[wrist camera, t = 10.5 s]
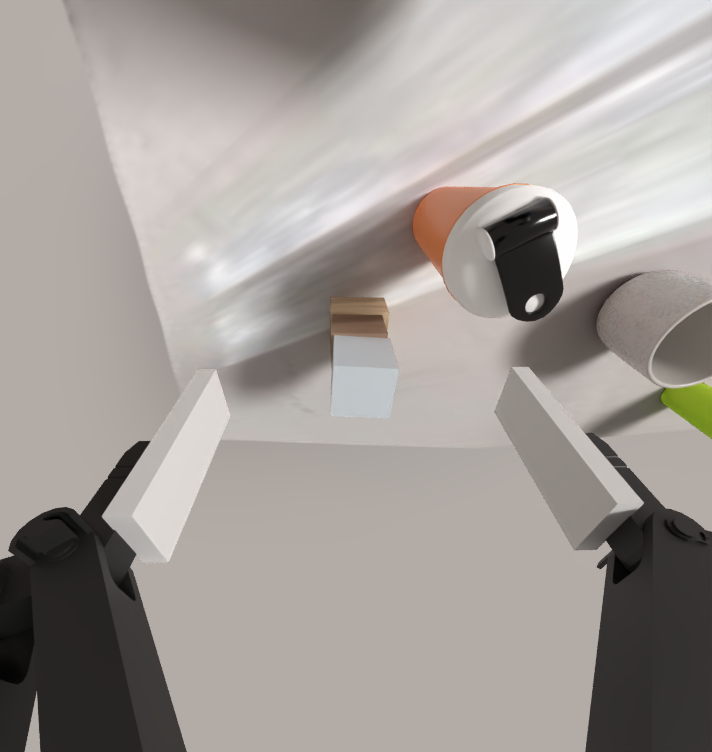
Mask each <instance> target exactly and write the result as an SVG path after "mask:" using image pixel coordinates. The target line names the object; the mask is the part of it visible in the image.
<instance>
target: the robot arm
mask: <svg viewBox="0 0 712 752" xmlns="http://www.w3.org/2000/svg"><path fill="white" fill-rule="evenodd" d="M495 414H496V416H497V417H498V419H499V421H500V422H501V424H502V426H503V428H504V429H505V431H506V433H507V435H508V436H509V438H510V440H511V442H512V443H513V445H514V447H515V449H516V450H517V452H518V454H519V455H520V457H521V459H522V461H523V462H524V464H525V466H526V468H527V469H528V471H529V473H530V474H531V476H532V478H533V480H534V482H535V483H536V485H537V487H538V488H539V490H540V492H541V494H542V495H543V497H544V499H545V501H546V502H547V504H548V505H549V507H550V509H551V511H552V513H553V515H554V516H555V518H556V519H557V521H558V523H559V525H560V527H561V528H562V530H563V532H564V534H565V535H566V537H567V539H568V541H569V542H570V544H571V546H572V547H573V549H574V550H596V549H598V548H599V547H600V546H601V545H602V543H604V542H605V541H607V542H608V544H609V545H610V547H611V548H612V551H611V552H609V554H608V555H606V556H605V557H604V558H603V559H602V560H601V561H600V562H599V563H598V565H597V568H599V569H601V568H603V567H604V566H605V565H606V564H607V570H606V578H605V588H604V596H603V605H602V613H601V622H600V630H599V639H598V647H597V648H598V649H597V657H596V665H595V673H594V683H593V691H592V700H591V708H590V717H589V725H588V734H587V742H586V751H585V752H712V532H710V531H706V530H704V528H702V527H701V526H700V525H699V524H698V523H697V522H695V521H694V520H693V519H691V518H689V517H688V516H686V515H684V514H682V513H680V512H677V511H674V510H672V509H666V508H665V507H664V506H663V505H662V504H661V503H660V502H659V501H658V500H657V499H656V498H655V497H654V495H653V494H652V493H651V492H650V491H649V490H648V489H647V488H646V486H645V485H644V484H643V483H642V482H641V481H640V480H639V479H638V478H637V476H636V475H635V474H634V473H633V472H632V471H631V470H630V469H629V468H627V465H626V464H625V463H624V462H623V461H622V460H621V459H620V458H618V455H617V454H616V453H615V452H614V451H613V450H612V449H611V448H610V446H609V445H608V444H607V443H605V442H604V441H603V440H601V439H600V438H598V437H597V436H596V435H594V434H593V433H584V432H583V431H582V429H581V428H580V427H579V426H578V425H577V424H576V422H575V421H574V420H573V419H572V418H571V416H570V415H569V414H568V413H567V412H566V411H565V409H564V408H563V407H562V406H561V405H560V404H559V402H558V401H557V400H556V399H555V398H554V396H553V395H552V394H551V393H550V392H549V391H548V389H547V388H546V387H545V386H544V385H543V384H542V382H541V381H540V380H539V379H538V378H537V376H536V375H535V374H534V373H533V372H532V371H531V369H530V368H529V367H512V368H511V370H510V373H509V375H508V378H507V381H506V383H505V386H504V388H503V391H502V394H501V396H500V399H499V401H498V404H497V406H496V409H495ZM229 417H230V413H229V409H228V406H227V403H226V400H225V397H224V393H223V390H222V387H221V384H220V381H219V378H218V374H217V371H216V369H198V370H197V372H196V373H195V375H194V376H193V378H192V379H191V381H190V382H189V384H188V385H187V387H186V388H185V390H184V391H183V393H182V395H181V396H180V398H179V399H178V401H177V402H176V404H175V405H174V407H173V408H172V410H171V411H170V413H169V414H168V416H167V418H166V419H165V420H164V422H163V424H162V425H161V427H160V428H159V430H158V431H157V433H156V434H155V436H154V437H153V439H152V440H151V441H139V442H137V443H136V444H135V445H134V446H132V447H131V448H130V449H129V450H128V451H126V452H125V453H124V455H123V456H122V458H121V459H120V460H119V462H118V463H117V465H116V468H114V469H113V470H112V472H111V473H110V474H109V476H108V479H107V480H105V481H104V483H103V484H102V485H101V487H100V488H99V490H98V491H97V493H96V494H95V495H94V497H93V498H92V500H91V501H90V502H89V504H88V505H87V506H86V508H85V509H84V511H83V512H82V513H81V515H79V514H78V513H77V512H76V511H75V510H74V509H71V508H67V507H63V508H55V509H52V510H50V511H47V512H44V513H42V514H40V515H39V516H37V517H35V518H34V519H32V520H31V521H29V522H28V523H27V524H26V525H25V526H23V527H22V528H21V529H20V530H19V531H18V532H17V534H16V535H15V536H14V538H13V539H12V541H11V543H10V547H9V550H8V551H9V552H11V553H12V554H14V556H11V557H8V558H5V559H2V560H0V752H24V751H25V746H26V741H27V736H28V731H29V726H30V722H31V717H32V712H33V707H34V701H35V697H36V692H37V696H38V697H37V698H38V715H39V733H40V749H41V750H40V751H41V752H187V751H186V748H185V745H184V741H183V738H182V734H181V731H180V728H179V725H178V721H177V718H176V714H175V711H174V708H173V705H172V701H171V697H170V694H169V691H168V687H167V684H166V681H165V677H164V674H163V671H162V667H161V664H160V661H159V657H158V654H157V650H156V647H155V644H154V640H153V637H152V634H151V630H150V627H149V624H148V621H147V617H146V613H145V611H144V607H143V603H142V600H141V597H140V593H139V590H138V587H137V583H136V580H135V577H134V573H133V571H132V570H131V568H130V566H131V564H132V562H133V560H134V558H135V556H137V557H138V558H139V559H140V560H141V561H142V562H143V563H168V562H169V560H170V558H171V555H172V553H173V550H174V548H175V546H176V543H177V541H178V539H179V536H180V534H181V531H182V529H183V527H184V524H185V522H186V520H187V517H188V515H189V512H190V510H191V507H192V505H193V503H194V500H195V498H196V496H197V493H198V491H199V489H200V486H201V484H202V481H203V479H204V477H205V474H206V472H207V470H208V467H209V465H210V463H211V460H212V458H213V455H214V453H215V451H216V448H217V446H218V443H219V441H220V439H221V436H222V434H223V432H224V429H225V427H226V425H227V422H228V420H229Z"/></svg>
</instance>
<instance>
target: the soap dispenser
mask: <svg viewBox="0 0 712 752" xmlns="http://www.w3.org/2000/svg"><path fill="white" fill-rule="evenodd" d="M661 402H662V403H663V404H665V405H666V406H667V407H669V408H670V409H671V410H673V411H674V412H676V413H677V414H678V415H680V416H681V417H682V418H684V419H685V420H686V421H688V422H689V423H691V424H692V425H693V426H695V427H696V428H697V429H699V430H700V431H701V432H703V433H704V434H706V435H707V436H708V437H710V438H711V439H712V388H711V387H710V386H708V385H706V384H705V383H700V384H697V385H693V386H689V387H684V388H666V389H665V390H664V391H663V393H662V395H661Z"/></svg>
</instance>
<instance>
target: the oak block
mask: <svg viewBox="0 0 712 752" xmlns="http://www.w3.org/2000/svg"><path fill="white" fill-rule="evenodd" d="M332 314H349V315H382V316H383V319H384V323H385V326H386V329H387V327H388V317H389V311H388V308H387V305H386V303H385V300H384V298H359V297H331V302H330V340H331V323H332ZM331 362H332V354H331Z"/></svg>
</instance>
